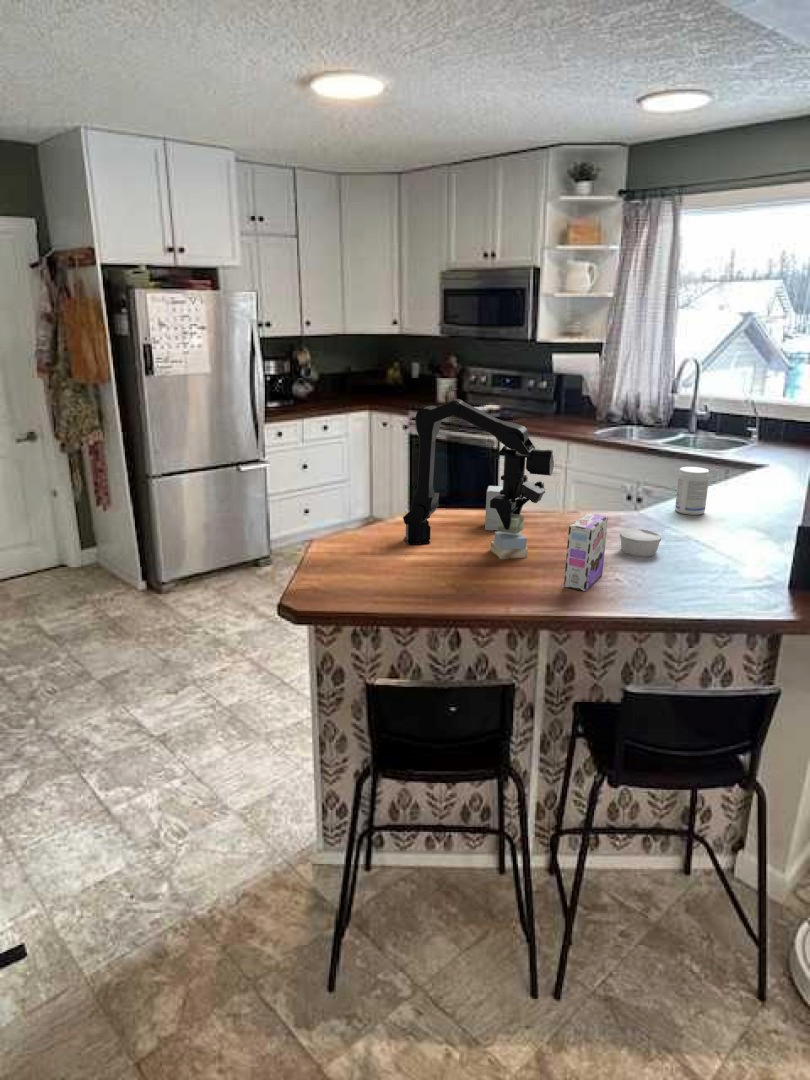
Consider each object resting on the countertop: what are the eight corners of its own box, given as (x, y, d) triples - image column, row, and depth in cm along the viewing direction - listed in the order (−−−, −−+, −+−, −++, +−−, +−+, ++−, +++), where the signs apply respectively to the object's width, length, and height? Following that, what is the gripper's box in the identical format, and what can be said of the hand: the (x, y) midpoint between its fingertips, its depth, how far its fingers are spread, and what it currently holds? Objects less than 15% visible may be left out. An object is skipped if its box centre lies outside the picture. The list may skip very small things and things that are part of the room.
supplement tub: (709, 512, 251) (715, 469, 246) (696, 517, 244) (702, 474, 240) (682, 506, 257) (687, 464, 252) (669, 511, 251) (674, 469, 246)
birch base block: (500, 560, 205) (500, 550, 204) (490, 551, 212) (490, 541, 211) (527, 558, 206) (527, 548, 205) (516, 549, 214) (516, 539, 213)
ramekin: (665, 551, 212) (668, 534, 210) (648, 561, 204) (650, 543, 202) (629, 543, 219) (631, 526, 217) (611, 552, 211) (613, 534, 210)
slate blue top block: (501, 549, 204) (502, 539, 203) (494, 541, 211) (494, 531, 210) (525, 548, 205) (526, 538, 204) (517, 540, 212) (518, 530, 211)
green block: (516, 534, 203) (516, 520, 202) (497, 530, 206) (498, 517, 204) (523, 529, 208) (524, 515, 206) (505, 525, 210) (506, 512, 209)
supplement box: (508, 531, 228) (510, 492, 224) (484, 530, 229) (485, 490, 225) (509, 524, 235) (511, 486, 231) (486, 523, 236) (488, 485, 232)
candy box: (585, 592, 182) (591, 528, 177) (562, 587, 185) (567, 524, 180) (603, 575, 193) (609, 515, 188) (581, 571, 196) (586, 511, 191)
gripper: (530, 483, 190) (526, 540, 195) (553, 468, 205) (549, 522, 210) (490, 477, 195) (487, 533, 200) (515, 464, 211) (512, 516, 216)
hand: (510, 526), depth 206 cm, fingers closed on green block, 5 cm apart
